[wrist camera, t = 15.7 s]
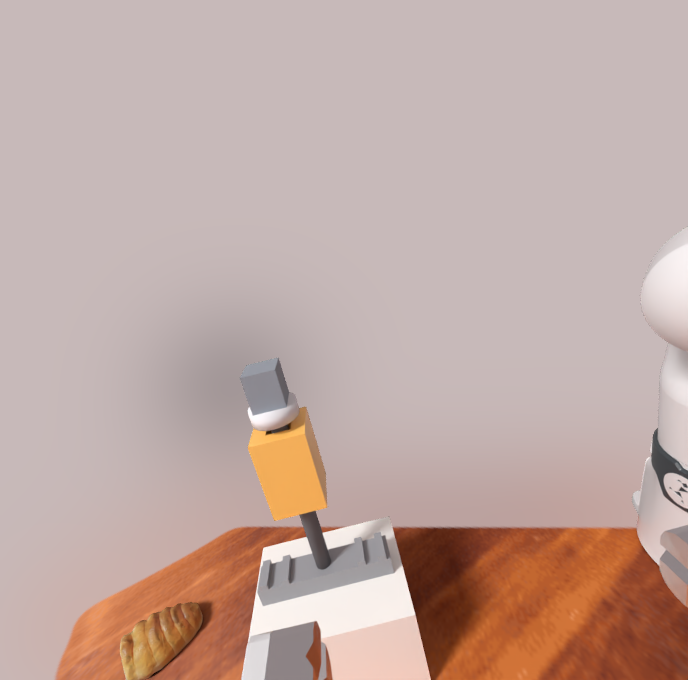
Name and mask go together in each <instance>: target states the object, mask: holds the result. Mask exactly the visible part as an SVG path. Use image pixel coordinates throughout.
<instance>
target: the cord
mask: <svg viewBox="0 0 688 680" xmlns="http://www.w3.org/2000/svg"><path fill="white" fill-rule="evenodd" d="M240 380H241V383H242V386H243V389H244V392H245V395H246V397H247V400H248V403H249V406H250V407H249V409H248V414H249V417H250V420H251V423H252V426H253V428H254V429H256V430H258V431H270V430H271V432H272V434H273V433H277V432H281V431H285V430H289V426H288V424H289V423H290V422H292V421H293V420H294V419H295V418H296V417H297V416H298V415H299V412H300V410H299V407H298V403H297V400H296V397H295V395H294V394H293V393H291V392H289V391H288V387H287V384H286V381H285V378H284V375H283V371H282V368H281V364H280V361H279V358H275V359H271V360H267V361H262V362H259V363H255V364H250V365H247V366H246V367H245V369H244V371H243V373H242V375H241V377H240ZM300 518H301V521H302V524H303V527H304V530H305V533H306V536H307V539H308V542H309V545H310V548H311V551H312V554H313V557H314V560H315V563H316V566H317V568H318V569H321V570H323V569H326V568H328V567H329V565H330V564H331V558H330V555H329V552H328V549H327V546H326V543H325V540H324V536H323V533H322V530H321V527H320V524H319V521H318V518H317V515H316V511H312V512H308V513H304V514H300Z"/></svg>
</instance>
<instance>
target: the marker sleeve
mask: <svg viewBox="0 0 688 680" xmlns="http://www.w3.org/2000/svg"><path fill="white" fill-rule="evenodd" d="M299 410H300V412H299V415H298V416H297V417H296V418H295V419H294V420H293V421H292V422H290V423H289V424H288V426H289V430H285V431H281V432H277V433H273V434H272V432H271V430H270V431H258V430H256V429H253V432H252V436H251V439H250V442H249V445H248V450H249V453H250V455H251V458H252V461H253V463H254V466H255V469H256V472H257V475H258V477H259V480H260V483H261V486H262V488H263V491H264V494H265V497H266V499H267V502H268V505H269V508H270V510H271V513H272V516H273V519H274V521H276V520H280V519H284V518H288V517H292V516H296V515H300V514H304V513H308V512H312V511H316V510H320V509H324V508H327V492H326V473H325V469H324V466H323V462H322V459H321V456H320V452H319V449H318V446H317V442H316V439H315V435H314V432H313V428H312V425H311V422H310V418H309V415H308V412H307V409H306V407H302V408H299Z"/></svg>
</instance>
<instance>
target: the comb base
mask: <svg viewBox="0 0 688 680" xmlns="http://www.w3.org/2000/svg"><path fill="white" fill-rule="evenodd" d="M323 536H324V540H325V543H326V546H327V549H328V552H329V555H330V558H331V564H330V565H329V567H328V568H326V569H323V570H321V569H318V568H317V566H316V563H315V560H314V557H313V554H312V551H311V548H310V545H309V542H308V539H307V537H305V538H301V539H297V540H293V541H289V542H285V543H281V544H277V545H273V546H269V547H265V548H263V554H262V560H261V566H260V572H259V578H258V584H257V591H256V597H255V603H254V609H253V615H252V621H251V627H250V634H249V640H250V637H251V636H254V635H258V634H262V633H266V632H270V631H275V630H279V629H283V628H287V627H292V626H296V625H300V624H305V623H309V622H313V621H317V623H318V625H319V628H320V630H321V642H323V643H324V644H326V647H327V650H328V653H329V658H330V662H331V670H332V678H333V680H431V678H430V674H429V670H428V666H427V661H426V657H425V653H424V649H423V645H422V640H421V636H420V632H419V628H418V624H417V620H416V615H415V612H414V608H413V604H412V600H411V596H410V593H409V589H408V585H407V581H406V577H405V574H404V570H403V566H402V562H401V558H400V555H399V551H398V547H397V543H396V540H395V536H394V532H393V528H392V525H391V521H390V517H389V516H388V517H385V518H381V519H377V520H373V521H369V522H365V523H361V524H357V525H353V526H349V527H345V528H341V529H337V530H333V531H329V532H325V533H323ZM249 640H248V642H249Z"/></svg>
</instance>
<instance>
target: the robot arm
mask: <svg viewBox="0 0 688 680" xmlns="http://www.w3.org/2000/svg"><path fill="white" fill-rule="evenodd" d="M640 301H641V308H642V312H643V315H644V316H645V319H646V321H647V322H648V324H649V326H650V327H651V328H652V329H653V330H654V331H655V332H656V333H657V334H658V335H659V336H660V337H661V338H662V339H664V340H665V341H667V342H668V345H667V350H666V354H665V358H664V361H663V364H662V367H661V371H660V382H659V409H658V428H657V429H656V430H655V432H654V434H653V440H652V442H651V453H652V455H651V457H649V458H647V460H646V462H645V468H644V473H643V479H642V485H641V490H639V491H636V492H634V493H633V497H632V503H633V505H634V507H635V509H636V511H637V513H638V522H637V533H638V537H639V539H640V542H641V544H642V546H643V547H644V549H645V550H646V551H647V553H648V554H649V555H650V557H651V558H652V559H653V560H654V561H655V562H656V563H657V564H658V565H659V566H660V572H661V574H662V576H663V578H664V580H665V582H666V584H667V586H668V587H669V588H670V590H671V591H672V592H673V594H674V595H675V596H676V597H677V598H678V599H679V600H680V601H681V602H682V603H683V604H684V605H685V606H686V607H688V226H687V227H686V228H684V229H683V230H682V231H680V232H679V233H677V234H676V235H674V236H673V237H672V238H671V239H669V240H668V241H667V242H666V243H665V244H664V245H663V246H662V247H661V248H660V249H659V251H658V252H657V253H656V254H655V256H654V258H653V259H652V261H651V263H650V265H649V267H648V270H647V272H646V275H645V277H644V281H643V285H642V289H641V298H640ZM241 680H333V678H332V670H331V662H330V658H329V653H328V650H327V647H326V644H324V643H323V642H321V630H320V628H319V625H318V623H317V621H313V622H309V623H305V624H300V625H296V626H292V627H287V628H283V629H279V630H275V631H270V632H266V633H262V634H258V635H254V636H251V637H250V640H249V642H248V645H247V649H246V655H245V661H244V667H243V673H242V679H241Z"/></svg>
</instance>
